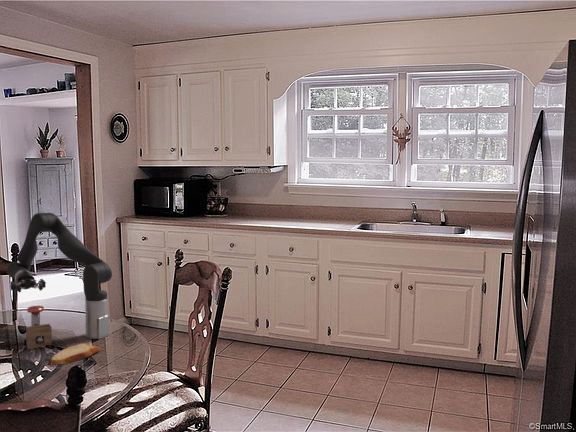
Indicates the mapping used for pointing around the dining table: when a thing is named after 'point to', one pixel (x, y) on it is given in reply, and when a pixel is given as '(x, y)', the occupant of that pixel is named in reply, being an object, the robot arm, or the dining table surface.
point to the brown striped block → (38, 331)
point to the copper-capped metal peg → (36, 318)
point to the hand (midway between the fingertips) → (30, 289)
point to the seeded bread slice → (74, 353)
